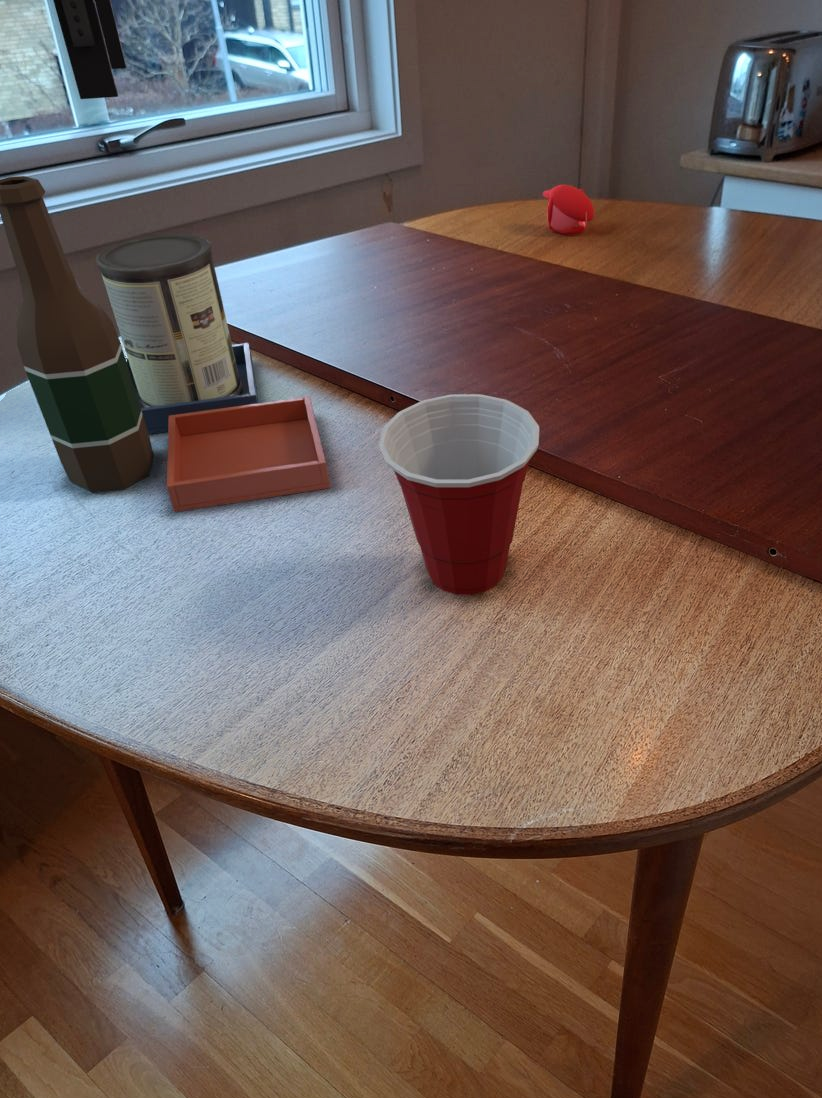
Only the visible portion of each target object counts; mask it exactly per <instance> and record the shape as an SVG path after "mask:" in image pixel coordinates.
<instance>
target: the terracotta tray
mask: <svg viewBox="0 0 822 1098" xmlns="http://www.w3.org/2000/svg"><path fill="white" fill-rule="evenodd" d="M166 460H167V463H166V490H167V494H168V496H169V501H170V504H171V507H172V509H173V512H174V513H177V512H184V511H191V510H197V509H202V508H209V507H215V506H223V505H229V504H236V503H243V502H247V501H254V500H261V499H268V498H273V497H275V498H276V497H280V496H288V495H292V494H293V495H294V494H300V493H306V492H313V491H319V490H326V489H330V488H331V485H330V479H329V478H330V477H329V473H328V466H327V460H326V456H325V452H324V449H323V445H322V440H321V437H320V432H319V429H318V425H317V420H316V416H315V412H314V408H313V404H312V400H311V396H310V395H309V396H302V397H295V398H287V399H280V400H274V401H273V400H272V401H266V402H265V401H264V402H259V403H257V404H250V405H243V406H235V407H228V408H221V409H213V410H206V411H199V412H192V413H184V414H177V415H170V416H169V422H168V432H167V459H166Z"/></svg>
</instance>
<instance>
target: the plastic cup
mask: <svg viewBox="0 0 822 1098" xmlns="http://www.w3.org/2000/svg"><path fill="white" fill-rule="evenodd" d="M539 445H540V425H539V424H538V423H537V421H536V420H535V419H534V417H533V416H532V414H531V413H530V412H529V411H528V410H527V409H525V408H523V407H521V406H519V405H518V404H516V403H514V402H512V401H510V400H509V399H505V398H500V397H495V396H490V395H486V394H481V393H472V394H471V393H470V394H468V393H462V394H461V393H458V394H457V393H456V394H455V393H453V394H451V393H450V394H447V395H442V396H437V397H432V398H428V399H424V400H420V401H419V402H417V403H415V404H413V405H410V406H408V407H406V408H404V409H402V410H400V411H398V412H396V414H395V415H394V416H393V417H392V418H391V419H390V420H389V421H388V422H387V423H386V424H385V425H384V426H383V427H382V429H381V434H380V437H379V442H378V448H379V450H380V452H381V454H382V456H383V458H384V461H385V463H386V464H387V467H388V468H390V469H391V470H392V471H393V472H394V475H395V476H396V479H397V481H398V484H399V486H400V488H401V492H402V495H403V499H404V502H405V505H406V509H407V513H408V515H409V518H410V522H411V525H412V529H413V532H414V535H415V538H416V541H417V544H418V546H419V548H420V552H421V555H422V559H423V562H424V566H425V568H426V571H427V574H428V575H429V578H430V580H431V582H432V584H433V585H434V586H436V587H437V588H439V589H440V591H443V592H446V593H449V594H453V595H457V596H458V595H461V596H463V595H464V596H472V595H476V594H481V593H485V592H487V591H489V590H491V589H493V588H494V587H496V586H497V585H498V584H499V583H500V582H501V581H502V579H503V578H504V574H505V572H506V570H507V565H508V560H509V559H508V558H509V554H510V548H511V544H512V542H513V538H514V533H515V527H516V523H517V518H518V517H517V516H518V511H519V506H520V503H521V496H522V491H523V486H524V482H525V480H526V475H527V470H528V469H529V466H530V461H531V459H532V457H533V456H534V454H535V453H536V452H537V451H538V449H539V448H538V447H539Z"/></svg>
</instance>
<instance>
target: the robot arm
mask: <svg viewBox="0 0 822 1098" xmlns="http://www.w3.org/2000/svg"><path fill="white" fill-rule="evenodd" d="M53 4H54V8H55V11H56V15H57V19H58V22H59V26H60V28H61V29H60V30H61V35H62V37H63V40H64V46H65V49H66V52H67V55H68V59H69V62H70V66H71V70H72V73H73V77H74V81H75V84H76V88H77V91H78V96H79V99H80V100H89V99H90V100H91V99H107V98H118V97H119V91H118V88H117V85H116V81H115V75H114V71H113V70H121V69H123V70H124V69H127V63H126V59H125V54H124V50H123V47H122V42H121V38H120V34H119V29H118V24H117V21H116V17H115V13H114V9H113V4H112V1H111V0H53Z"/></svg>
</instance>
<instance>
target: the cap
mask: <svg viewBox="0 0 822 1098" xmlns="http://www.w3.org/2000/svg"><path fill="white" fill-rule="evenodd" d="M542 196H543V197H544V198H546V199H548V203H547V207H546V208H547V209H546V221H547V228H548V229H549V230H550V231H551V232H552V233H555V232H556V233H560V234H564V235H576V234H582V233H584V232H585V231H586V229H587V226H588V223H589V222H592V221H593V219H594V217H595V208H594V205H593V203H592V201H591V199H590V198H589V197H588V195H587V194H586V193H585V191H584V190H583V189H582V188H577V187H575V186H572V185H569V184H558V185H556V186H553V187H552V188H551V189H547V190H544V191H543V192H542ZM577 225H578V226H577Z"/></svg>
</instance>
